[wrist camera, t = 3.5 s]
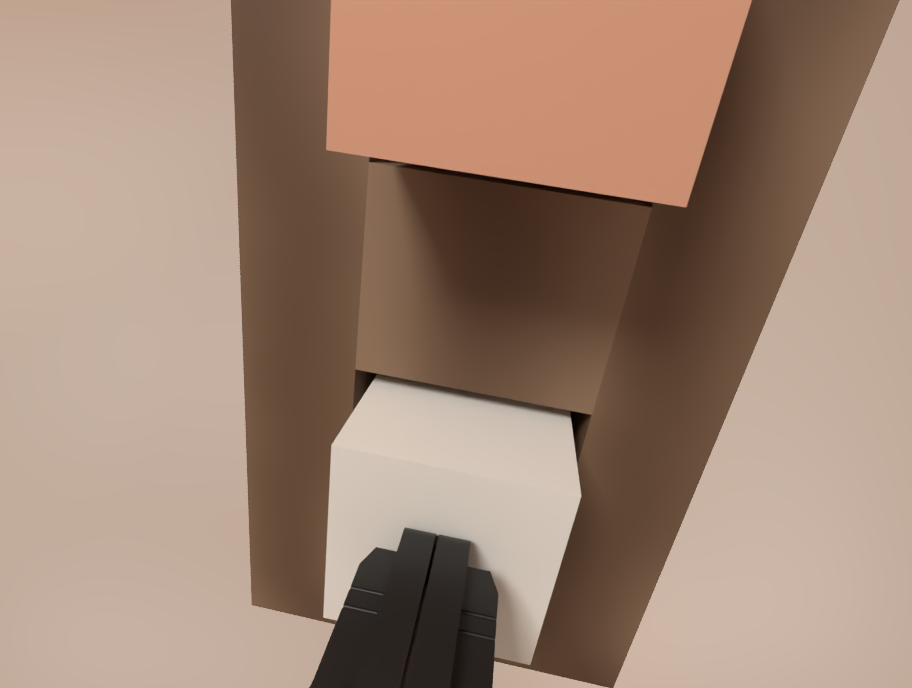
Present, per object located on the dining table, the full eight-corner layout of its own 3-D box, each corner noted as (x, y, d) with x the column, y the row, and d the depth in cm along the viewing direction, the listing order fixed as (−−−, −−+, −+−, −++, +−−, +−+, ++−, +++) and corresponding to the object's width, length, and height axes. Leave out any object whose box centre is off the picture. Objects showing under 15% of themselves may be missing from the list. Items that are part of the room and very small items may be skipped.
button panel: (902, -282, 10) (1118, -524, 6) (597, 584, 20) (612, 688, 16) (320, -333, 11) (211, -571, 7) (302, 520, 20) (251, 604, 17)
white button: (568, 399, 14) (581, 496, 10) (530, 542, 16) (530, 665, 12) (383, 364, 14) (331, 445, 10) (370, 508, 16) (323, 617, 13)
